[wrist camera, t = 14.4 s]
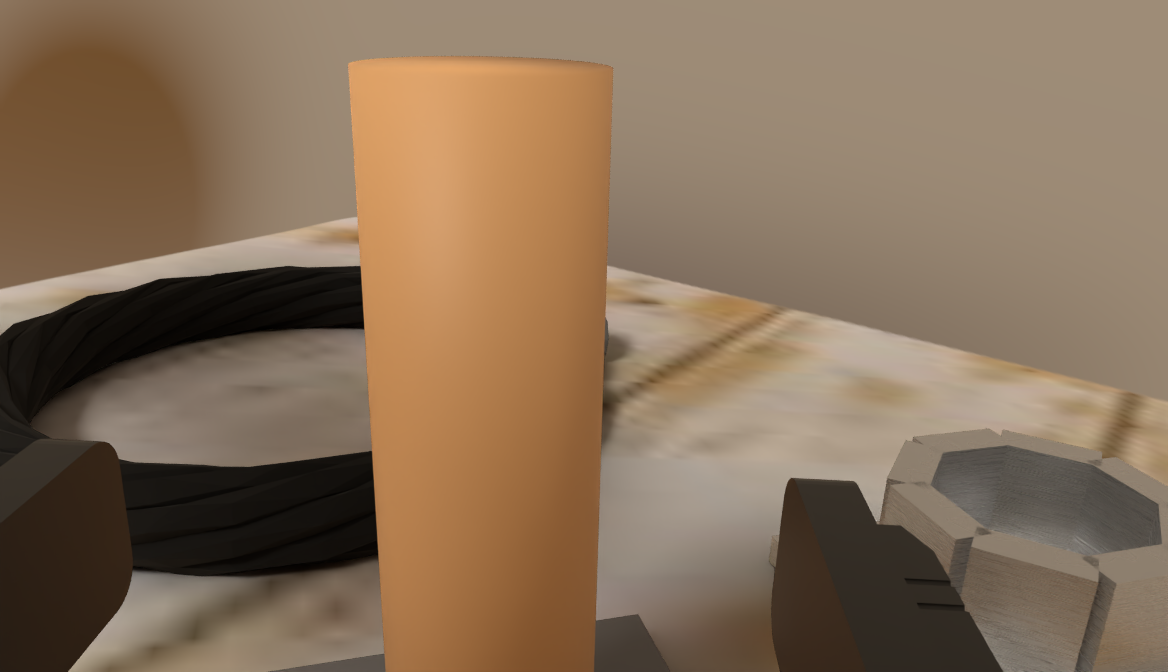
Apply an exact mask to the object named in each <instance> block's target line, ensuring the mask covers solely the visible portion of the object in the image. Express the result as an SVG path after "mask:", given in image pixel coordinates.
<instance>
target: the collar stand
mask: <svg viewBox="0 0 1168 672" xmlns="http://www.w3.org/2000/svg"><path fill="white" fill-rule="evenodd" d="M876 523H877V524H881V525H901V526H902V527H904V528H905V529H906V530H907V531H909V532H910V533H911V534H913V535H914V536H915V537H916V538H918V539H919V540H920V541H921V542H923V543H924V544H925V545H926V546H928V547H929V548H930V549H931V550H933V551H934V553H935V554H936V556H937V558H938V559H939V561H940V563H941V565H942V566H943V568H944V570H945V572H946V573H947V575H948V577H949V579H950V580H951V586H954V587H955V589H956V591H957V592H958V594H959V596H960V598H961V599H962V601H963V603H964V604H965V611H967V612H969V613H970V615H971V617H972V618H973V620H974V622H975V623H976V625H977V627H978V629H979V630H980V632H981V634H982V636H983V637H984V639H985V641H986V643H987V644H988V646H989V648H990V649H991V651H992V653H993V655H994V656H995V658H996V660H997V662H998V663H999V665H1000V667H1001V668H1002V670H1003V672H1168V487H1167V486H1166V485H1164V484H1162V483H1160V482H1159V481H1157V480H1155V479H1153V478H1152V477H1150V476H1148V475H1146V474H1145V473H1143V472H1141V471H1139V470H1138V469H1136V468H1134V467H1132V466H1131V465H1129V464H1127V463H1125V462H1124V461H1122V460H1120V459H1118V458H1117V457H1113V458H1105V459H1102V452H1100V451H1096V450H1091V449H1087V448H1082V447H1078V446H1073V445H1069V444H1064V443H1060V442H1055V441H1051V440H1046V439H1042V438H1037V437H1033V436H1028V435H1024V434H1019V433H1015V432H1010V431H1006V430H1002V434H1001V436H1000V435H998V434H997V433H995V432H994V431H992V430H990V429H982V430H972V431H963V432H954V433H945V434H935V435H926V436H917V437H913V442H911V441H907V440H906V441H905V443H904V445H903V447H902V449H901V451H900V453H899V455H898V457H897V459H896V461H895V463H894V465H893V467H892V469H891V471H890V473H889V475H888V477H887V482H886V488H885V494H884V500H883V505H882V511H881V517H880V521H879V522H876ZM778 542H779V535H776V536H772V541H771V548H770V556H769V562H770V563H771V564H772V565H773V566H774V568H775V566H776V558H777V550H778Z"/></svg>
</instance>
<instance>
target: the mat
mask: <svg viewBox="0 0 1168 672" xmlns="http://www.w3.org/2000/svg"><path fill="white" fill-rule="evenodd" d="M270 672H386V669H385V654H379V655H373V656H367V657H360V658H354V659H347V660H341V661H334V662H328V663H322V664H315V665H309V666H302V667H296V668H289V669H283V670H277V671H270ZM594 672H670V670H669V668H668V667H667V665H666V663H665V661H664V659H663V658H662V656H661V654H660V652H659V651H658V649H657V647H656V645H655V644H654V642H653V640H652V638H651V636H650V635H649V633H648V631H647V629H646V628H645V626H644V624H643V622H642V621H641V619H640V617H639V615H638V614H636V615H630V616H624V617H617V618H611V619H604V620H598V621H596V623H595V655H594Z"/></svg>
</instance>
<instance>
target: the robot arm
mask: <svg viewBox="0 0 1168 672" xmlns="http://www.w3.org/2000/svg"><path fill="white" fill-rule="evenodd" d="M132 568H133V557H132V548H131V541H130V534H129V527H128V520H127V512H126V505H125V498H124V491H123V484H122V477H121V470H120V463H119V459H118V456H117V453H116V451H115V449H114V448H113V447H112V445H110V444H109V443H107V442H100V441H80V440H60V439H39V440H36V441H35V442H33V443H31V444H30V445H29V446H27V447H26V448H25V449H23V450H22V451H21V452H19V453H18V454H17V455H15V456H14V457H13V458H11V459H10V460H9V461H7V462H6V463H5V464H3V465H2V466H1V467H0V672H68V671H69V670H70V669H71V667H72V666H73V665H74V664H75V662H76V661H77V660H78V659H79V658H80V656H81V655H82V654H83V653H84V651H85V650H86V649H87V648H88V647H89V645H90V644H91V643H92V642H93V641H94V639H95V638H96V637H97V636H98V634H99V633H100V632H101V631H102V630H103V628H104V627H105V626H106V625H107V624H108V622H109V621H110V620H111V619H112V617H113V616H114V615H115V614H116V613H117V611H118V610H119V608H120V607H121V605H122V603H123V602H124V600H125V597H126V595H127V592H128V589H129V586H130V582H131V576H132ZM771 619H772V635H773V642H774V648H775V652H776V656H777V660H778V664H779V669H780V672H1003V670H1002V668H1001V667H1000V665H999V663H998V662H997V660H996V658H995V656H994V655H993V653H992V651H991V649H990V648H989V646H988V644H987V643H986V641H985V639H984V637H983V636H982V634H981V632H980V630H979V629H978V627H977V625H976V623H975V622H974V620H973V618H972V617H971V615H970V613H969V612H967V611H965V604H964V603H963V601H962V599H961V598H960V596H959V594H958V592H957V591H956V589H955V587H954V586H951V580H950V579H949V577H948V575H947V573H946V572H945V570H944V568H943V566H942V565H941V563H940V561H939V559H938V558H937V556H936V554H935V553H934V551H933V550H931V549H930V548H929V547H928V546H926V545H925V544H924V543H923V542H921V541H920V540H919V539H918V538H916V537H915V536H914V535H913V534H911V533H910V532H909V531H907V530H906V529H905V528H904V527H902V526H901V525H881V524H877V523H876V521H875V519H874V517H873V515H872V513H871V511H870V509H869V507H868V505H867V503H866V501H865V499H864V497H863V495H862V493H861V491H860V489H859V487H858V485H857V484H856V483H855V482H854V481H840V480H821V479H801V478H791V479H790V480H789V481H788V484H787V486H786V490H785V495H784V502H783V510H782V518H781V526H780V534H779V542H778V550H777V558H776V566H775V574H774V582H773V591H772V607H771Z"/></svg>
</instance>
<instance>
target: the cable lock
mask: <svg viewBox="0 0 1168 672" xmlns="http://www.w3.org/2000/svg"><path fill="white" fill-rule="evenodd" d="M322 326H341V327H358V328H364V312H363V296H362V279H361V266H348V267H310V268H307V267H294V266H284V267H275V268H266V269H257V270H248V271H239V272H230V273H222V274H215V275H211V276H198V277H182V278H166V279H158V280H155V281H152V282H149V283H146V284H143V285H140V286H137V287H134V288H131V289H128V290H125V291H119V292H112V293H106V294H99V295H92V296H87V297H85V298H83V299H81V300H79V301H76V302H74V303H72V304H70V305H68V306H66V307H64V308H61V309H59V310H57V311H55V312H53V313H50V314H46V315H43V316H39V317H36V318H32V319H29V320H25V321H22V322H18V323H15V324H13V325H12V326H11V327H10V328H8V329H7V330H6V331H5V332H4V333H3V334H1V335H0V467H1V466H2V465H3V464H5V463H6V462H7V461H9V460H10V459H11V458H13V457H14V456H15V455H17V454H18V453H19V452H21V451H22V450H23V449H25V448H26V447H27V446H29V445H30V444H31V443H33V442H35V441H36V440H39V439H51V438H49V437H47V436H45V435H43V434H41V433H39V432H37V431H35V430H34V429H33V428H32V427H31V426H30V422H31V420H32V418H33V417H34V415H35V414H36V413H37V412H38V411H39V410H40V408H41V407H42V406H43V405H44V404H45V403H46V402H47V401H48V400H49V399H50V398H51V397H52V396H53V395H54V394H56V393H57V392H59V391H60V390H62V389H64V388H67V387H69V386H71V385H73V384H75V383H77V382H78V381H80V380H82V379H83V378H85V377H87V376H88V375H90V374H92V373H93V372H95V371H97V370H98V369H100V368H102V367H105V366H107V365H110V364H112V363H115V362H119V361H123V360H127V359H131V358H135V357H138V356H141V355H143V354H146V353H149V352H151V351H154V350H157V349H159V348H162V347H165V346H167V345H172V344H177V343H182V342H190V341H198V340H204V339H209V338H215V337H219V336H223V335H228V334H232V333H236V332H240V331H245V330H269V329H286V328H295V329H299V328H313V327H322ZM364 329H365V328H364ZM608 340H609V339H608V322H607V320H606V317H605V342H604V356H605V355H606V351H607V345H608ZM119 463H120V470H121V477H122V484H123V491H124V498H125V505H126V512H127V520H128V527H129V534H130V541H131V548H132V557H133V566H137V567H142V568H147V569H153V570H158V571H164V572H169V573H174V574H182V575H194V576H206V575H214V574H223V573H231V572H239V571H247V570H254V569H262V568H269V567H277V566H285V565H292V564H300V563H315V562H331V561H342V560H349V559H356V558H363V557H366V556H369V555H373V554H376V553H378V539H377V523H376V507H375V491H374V474H373V458H372V451H369V452H361V453H354V454H346V455H339V456H332V457H324V458H317V459H309V460H302V461H294V462H287V463H278V464H270V465H261V466H253V467H219V466H209V465H191V464H163V463H134V462H129V461H125V460H120V459H119Z"/></svg>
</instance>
